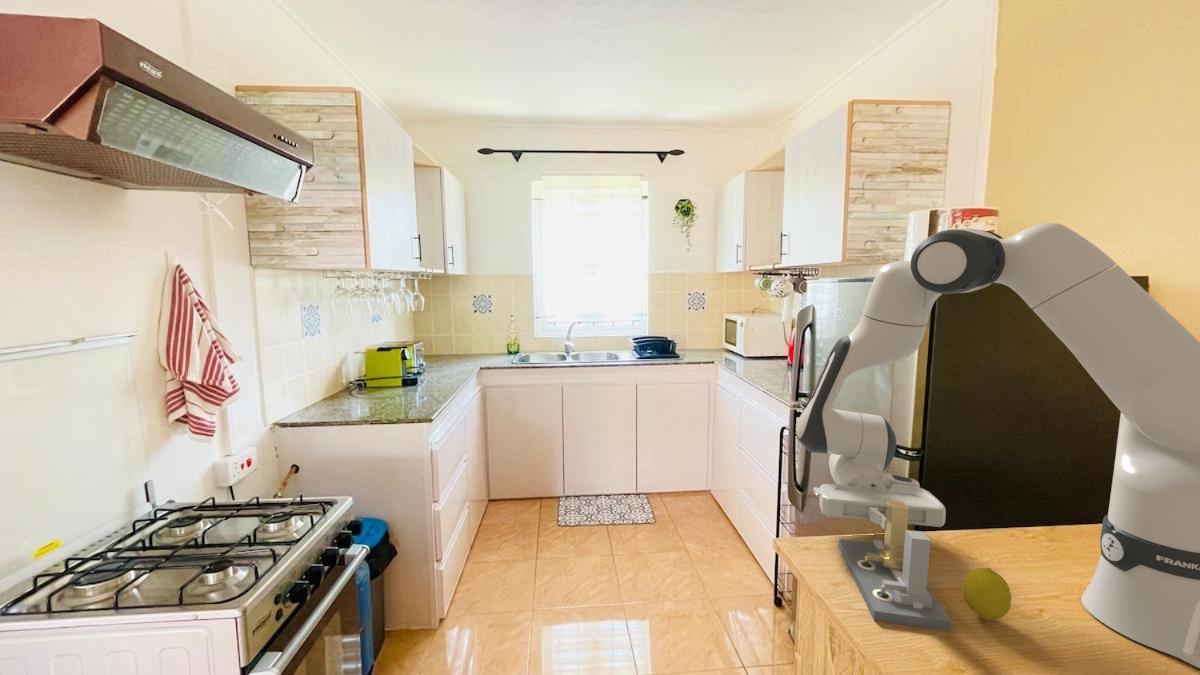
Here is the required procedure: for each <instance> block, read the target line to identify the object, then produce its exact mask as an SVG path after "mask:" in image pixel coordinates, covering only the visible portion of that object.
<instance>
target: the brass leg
mask: <svg viewBox="0 0 1200 675" xmlns="http://www.w3.org/2000/svg"><path fill="white" fill-rule="evenodd" d="M908 515H909V508H908V507H907V506H906V505H905V503H904V502H899V501H888V500H887V512H886V526H885V529H884V530H885V531H884V541H883V542H884V543H883V544H884V549H878V554H876V553H868V552H866V556H865V563H866V564H869V560H872V561H880V562H881V563H882V565H883V567H887V568H895V569H903V557H904V544H905V531H906V530H908V527H909V526H908V525H909V524H908Z"/></svg>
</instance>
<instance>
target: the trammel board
mask: <svg viewBox="0 0 1200 675" xmlns="http://www.w3.org/2000/svg"><path fill="white" fill-rule="evenodd" d="M838 549H839V550H840V552H841V555H842V557H843V559H844V560H845V564H846V565H847V567H848V569H849V572H850V573H851V575H852V577H853V580H854V582H855V584H856V586H857V587H858V590H859V593H860V594H861V596H862V598H863V600H864V603H865V605H866V607H867V609H868V611H869V614H870V615H871V616H872V619H873V621H877V622H885V623H890V624H899V625H906V626H912V627H919V628H926V629H933V630H940V631H945V632H946V631H947V632H951V631H952V624H953V622H952V620H951V619H950V617H949V616H948V614H947V613H946V612H945V610H944V609H943V607H942V605H941V604H940V603H939V601H938V600H937V599H936V597H935V596H934V594H933V593H932V592H931V590H930V589H929V587H928V586H927V585H928V573H929V562H930V549H931V539H930V538H929V537H928V535H927V534H926V533H925V532H924V531H921V530H909V529H907V530H906V531H905V544H904V557H903V569H895V568H887V567H883V565H882V563H881V562H880V561H872V560H869V564H866V563H865V556H866V552H868V553H876V554H878V549H884V543H883V542H882V540H881V539H880V540H879V539H873V540H872V542H871V541H861V540H852V539H851V540H850V539H845V538H844V539H842V538H838Z"/></svg>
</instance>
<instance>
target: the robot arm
mask: <svg viewBox="0 0 1200 675" xmlns="http://www.w3.org/2000/svg"><path fill="white" fill-rule="evenodd" d="M910 259H911V260H900V261H899V260H897V261H893V262H890V263H887V264H885V265H883V266H882V267H880V269H879V270H878V271H877V273H876V275H875V276H874V279H873V281H872V284H871V286H870V288H869V290H868V292H867V296H866V299H865V303H864V304H863V309H862V313H861V316H860V319H859V321H858V323H857V325H856V326H855V327H854V329H853V330H852V331H851V332H850V333H849V334H848V335H847V336H843V337H840V338H839V339H838V340H837V342H836V343H835V345H834V346H833V348H832V350H831V351H830V353H829V356H828V357H827V359H826V361H825V363H824V366H823V368H822V370H821V372H820V375H819V376H818V377H819V378H818V380H817V382H816V383H815V386H814V389H813V392H812V393H811V396H810V398H809V400H808V402H806V405H805V406H804V408H803V410H802V412H801V414H800V416H799V418H798V421H797V423H796V424H797V425H796V437H797V440H798V442H799V443H800V444H801V445H802V446H803V447H804V448H805V449H806V450H807V451H808V452H809V453H812V454H813V453H815V454H825V455H827V454H830V455H829V457H828V467H829V471H830V475H831V478H832V479H833V481H834V483H823V484H821V485H819V486H817V487H816V486H815V487H813V489H812V491H813V494H814V495H815V497H817V498H819V507H820V511H821V513H822V514H823V515H825V516H827V517H832V518H840V519H841V518H843V519H853V520H863V521H864V520H865V521H869V522H872V523H874V524H877V525H878V526H880V527H881V528H882V529H883V530H885V526H886V512H887V500H888V501H899V502H904V503H905V505H906V506H907V507H908V508H909V515H908V525H912V526H913V525H915V526H926V527H936V528H941V527H943V526H944V525H945V523H946V513H947V510H946V507H945V505H944V504H943V503H942V502H941V501H940V500H939V499H938V498H937V497H936V496H934V495H933V494H932V493H931V492H930V491H928V490H926V489H925V488H922V487H921V486H920V482H919V481H918V480H916V479H914V478H911V477H910V478H909V477H904V476H900V475H896V474H893V473H889V472H886V471H885V470H886V469H887V468H889V466H890V465H891V464H892V461H893V460H894V458H895V455H896V450H897V449H896V448H897V438H896V434H895V431H894V430H893V427H892V426H891V425H890V423H889V421H887V420H886V418H884V417H883V416H882V415H878V414H877V415H876V414H870V413H865V412H858V411H857V412H856V411H849V410H845V409H844V410H843V409H837V408H833V407H834V404H835V402H836V400H837V399H838V396H839V394H840V392H841V390H842V387H843V386H844V383H845V381H846V380H847V379H848V378H849V376H851V375H852V374H854V373H857V372H859V371H862V370H865V369H869V368H872V367H874V368H875V367H878V366H884V365H891V364H894V363H898V362H900V361H903V360H905V359H907V358H908V357H910V356H911V355H913V354H914V353H915V352H916V351H917V350H918V349H919V347H920V345H921V344H922V341H923V339H924V336H925V333H926V330H927V327H928V322H929V319H930V315H931V311H932V308H933V306H934V304H935V302H936V300H937V299H938V298H939V297H940V296H942V295H953V294H964V293H966V294H967V293H972V292H977V291H979V290H981V289H985V288H987V287H990V286H992V285H994V284H1000V285H1004V286H1006V287H1008V288H1010V289H1011V290H1012V291H1014V293H1016V294H1017V295H1018V296H1019V297H1020V298H1021V299H1022V300H1023V301H1024V302H1025V304H1026V305H1027V306H1028V307H1029V308H1030V309H1032V311H1033V312H1034V313H1035V314H1036V315H1037V316H1038V317H1039V319H1040V320H1041V321H1042V322H1043V323H1044V324H1045V326H1046V327H1047V328H1049V330H1051V332H1053V334H1054V335H1055V336H1056V337H1057V338H1058V339H1059V340H1060V341H1061V342H1062V343H1063V345H1065V347H1066V348H1067V349H1068V350H1069V351H1070V352H1071V354H1073V356H1074V357H1075V359H1077V361H1078V362H1079V363H1080V364H1081V366H1082V367H1083V369H1085V371H1086V372H1087V373H1088V374H1089V376H1090V377H1091V378H1092V379H1093V381H1094V382H1095V383H1096V385H1098V387H1099V388H1100V389H1101V390H1102V392H1104V394H1105V395H1106V396H1107V397H1108V399H1109V400H1110V401H1111V402H1112V403H1113V404H1114V405H1115V406H1116V408H1117V409H1118V411H1120V416H1119V425H1118V433H1117V434H1118V435H1117V441H1116V450H1115V459H1114V466H1113V467H1114V468H1113V474H1112V482H1111V491H1110V498H1109V505H1108V506H1109V507H1108V512H1107V514H1106V515H1105V516H1103V519H1102V526H1101V532H1100V538H1099V539H1100V544H1099V545H1100V556H1099V560H1098V563H1097V566H1096V569H1095V572H1094V573H1093V576H1092V578H1091V580H1090V582H1089V585H1088V586H1087V588H1086V590H1085V591H1084V592H1083V594H1082V595H1081V603H1082V605H1083V607H1084V608H1085V609H1086V610H1087V611H1088V612H1089V613H1090V614H1091V615H1092V616H1093V617H1094V618H1095V619H1097V620H1099V621H1100V622H1101V623H1103V624H1104V625H1106V626H1107V627H1109V628H1111V629H1112V630H1113V631H1115V632H1117V633H1119V634H1121V635H1122V636H1125V637H1127V638H1129V639H1131V640H1133V641H1136V642H1137V643H1140V644H1142V645H1145V646H1147V647H1149V648H1151V649H1154V650H1156V651H1160V652H1163V653H1165V654H1168V655H1170V656H1173V657H1175V658H1178V659H1180V660H1181V661H1184V662H1185V663H1188V664H1189V665H1192V666H1194V667H1196V668H1198V669H1200V341H1199V340H1198V339H1197V338H1196V337H1195V336H1194V335H1193V333H1191V332H1190V331H1189V330H1188V329H1187V328H1185V327H1184V326H1183V324H1181V323H1180V322H1179V321H1178V320H1177V319H1176V318H1175V317H1174V316H1173V315H1172V314H1170V313H1169V312H1168V310H1166V308H1164V307H1163V306H1162V305H1161V304H1160V303H1159V302H1158V301H1157V300H1156V299H1154V297H1153V296H1152V295H1151V294H1150V293H1148V292H1147V290H1145V289H1144V288H1143V287H1142V286H1141V285H1140V284H1139V283H1138V282H1137V281H1136V280H1135V279H1133V278H1132V276H1130V275H1129V274H1128V273H1127V272H1126V271H1125V270H1124V269H1123V268H1122V267H1121V266H1120V265H1119V264H1117V263H1116V262H1115V261H1114V260H1113V259H1112V258H1111V257H1110V256H1109V255H1107V253H1105V252H1104V251H1102V250H1101V249H1100V248H1099V247H1098V246H1096V245H1095V244H1093V243H1092V242H1091V241H1089V240H1088V239H1087V238H1085V237H1084V236H1082V235H1081V234H1079V233H1077V232H1076V231H1074V230H1072V229H1070V228H1069V227H1067V226H1066V225H1063V224H1061V223H1055V222H1045V223H1038V224H1036V225H1032V226H1029V227H1028V228H1025V229H1023V230H1021V231H1019V232H1017V233H1015V234H1014V235H1012V236H1010V237H1007V238H1003V237H1002V236H1001V235H999V234H997V233H995V232H992V231H988V230H983V229H976V228H970V227H969V228H967V227H966V228H965V227H964V228H957V229H946V230H943V231H942V230H941V231H938V232H936V233H934V234H932V235H930V236H928V237H926V238H925V239H924V240H923V241H921V242H920V243H919V245H917V247H916V248H915V250H914V251H913V254H912V256H911V258H910Z"/></svg>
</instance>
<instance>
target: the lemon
mask: <svg viewBox="0 0 1200 675" xmlns="http://www.w3.org/2000/svg"><path fill="white" fill-rule="evenodd" d="M1010 590H1011V589H1010V587H1009V585H1008V583H1007V581H1006V580H1005V579H1004V577H1003V576H1002V575H1001V574H999V573H998V572H996V571H995V570H993V569H992V568H990V567H977V568H976V567H975V568H973V569H971V570H969V571H968V572H967V574H966V575H965V576H964V579H963V582H962V595H963V599H964V602H965V603H966V605H967V606H968V607H969V609H970V610H971V611H972V612H973V613H975V614H976V615H977V616H979V617H980V618H981V619H983V620H998V619H1002V618H1004V617H1005V615H1007V614H1008V612H1010V609H1011V604H1012V595H1011V594H1012V593H1011V591H1010Z"/></svg>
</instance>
